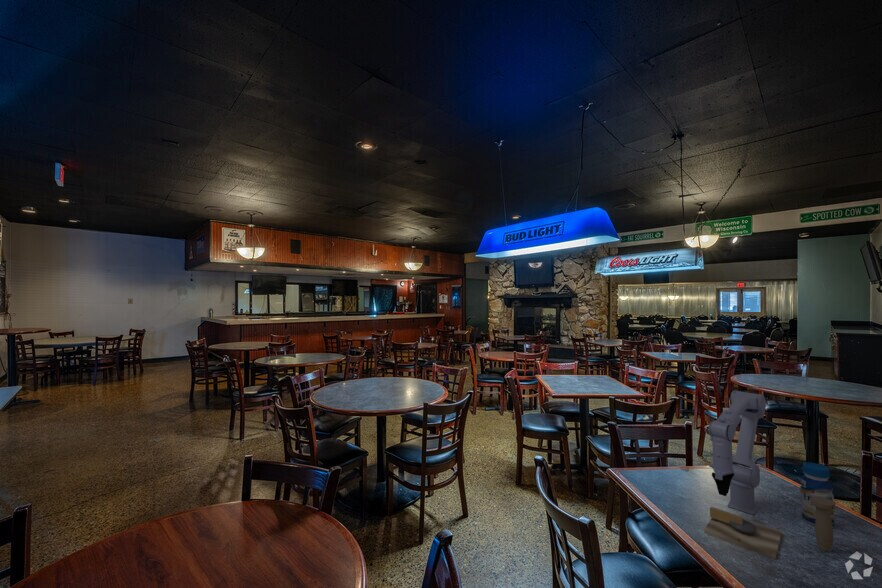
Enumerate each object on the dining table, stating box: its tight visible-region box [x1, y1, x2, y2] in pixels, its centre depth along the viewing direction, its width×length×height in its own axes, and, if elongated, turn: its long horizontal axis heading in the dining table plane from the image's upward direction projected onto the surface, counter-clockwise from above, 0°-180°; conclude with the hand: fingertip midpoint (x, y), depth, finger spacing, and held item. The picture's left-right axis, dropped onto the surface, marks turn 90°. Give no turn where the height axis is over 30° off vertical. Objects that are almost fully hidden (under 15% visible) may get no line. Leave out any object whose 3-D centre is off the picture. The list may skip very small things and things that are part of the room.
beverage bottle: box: [799, 461, 835, 529], centre depth 131 cm, size 8×8×20 cm
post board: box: [704, 517, 783, 561], centre depth 124 cm, size 18×18×2 cm
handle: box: [811, 497, 836, 553], centre depth 116 cm, size 5×6×15 cm
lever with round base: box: [709, 506, 756, 533], centre depth 126 cm, size 12×7×3 cm, turn 43°
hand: (723, 493), depth 133 cm, fingers open, 2 cm apart
